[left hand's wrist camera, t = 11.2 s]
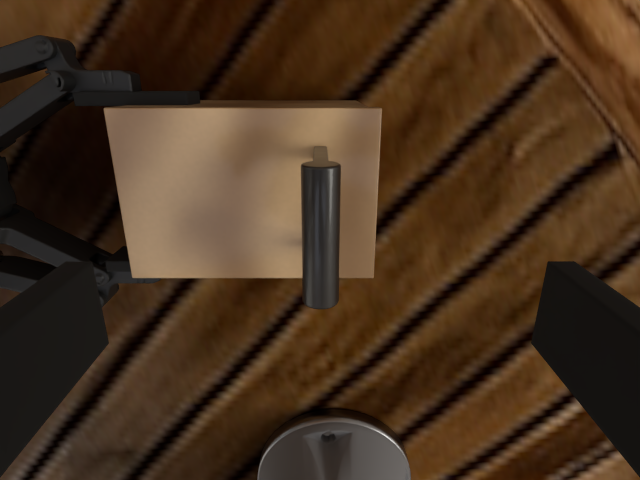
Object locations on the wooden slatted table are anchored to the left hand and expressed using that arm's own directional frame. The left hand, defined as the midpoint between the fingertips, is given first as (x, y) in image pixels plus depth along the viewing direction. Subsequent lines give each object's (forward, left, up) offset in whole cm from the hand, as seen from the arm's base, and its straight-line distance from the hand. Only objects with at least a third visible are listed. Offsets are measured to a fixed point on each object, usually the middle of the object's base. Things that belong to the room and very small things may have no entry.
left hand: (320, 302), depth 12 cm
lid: (-3, +3, -13) cm, 14 cm away
